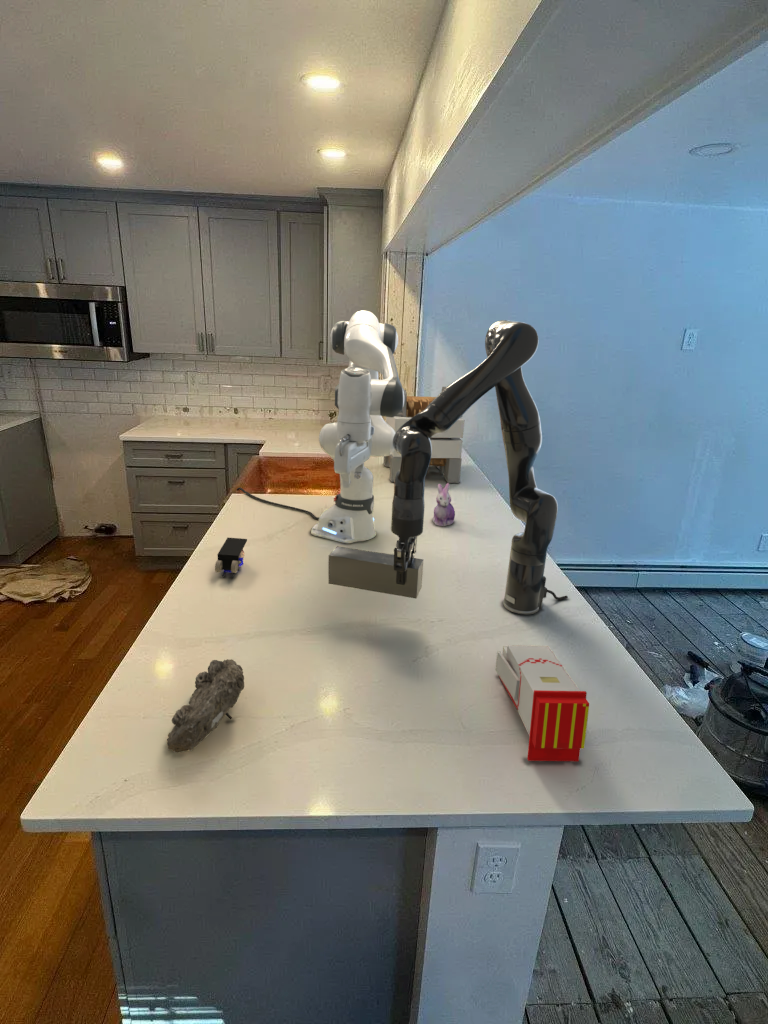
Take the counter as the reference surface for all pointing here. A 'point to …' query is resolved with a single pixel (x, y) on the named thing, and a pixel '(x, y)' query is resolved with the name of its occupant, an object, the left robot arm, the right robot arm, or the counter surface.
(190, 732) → the fossil
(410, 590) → the bar
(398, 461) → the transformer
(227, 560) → the figurine character
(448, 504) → the figurine
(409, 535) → the right robot arm
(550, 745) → the toy
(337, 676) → the counter surface
